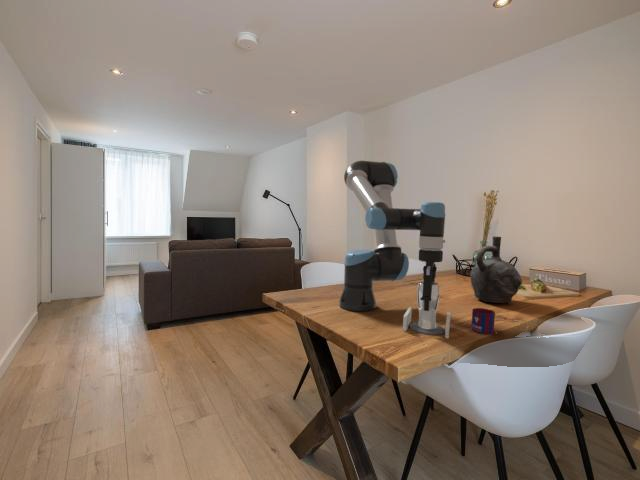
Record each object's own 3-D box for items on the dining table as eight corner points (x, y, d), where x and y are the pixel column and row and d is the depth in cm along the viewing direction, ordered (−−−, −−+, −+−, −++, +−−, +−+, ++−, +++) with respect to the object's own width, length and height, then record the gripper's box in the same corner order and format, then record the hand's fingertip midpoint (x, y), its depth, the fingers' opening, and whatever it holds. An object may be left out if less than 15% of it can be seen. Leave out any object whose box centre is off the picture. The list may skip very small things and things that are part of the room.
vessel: (512, 312, 130) (518, 239, 128) (458, 301, 145) (461, 235, 143) (526, 301, 148) (530, 237, 146) (475, 293, 163) (479, 234, 161)
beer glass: (435, 332, 103) (436, 285, 102) (413, 328, 106) (415, 283, 106) (439, 326, 109) (441, 282, 108) (419, 322, 112) (420, 280, 112)
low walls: (402, 331, 105) (403, 316, 105) (408, 320, 116) (408, 307, 116) (448, 338, 99) (449, 322, 99) (449, 326, 110) (450, 312, 110)
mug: (466, 328, 109) (468, 309, 108) (485, 325, 113) (487, 306, 113) (484, 335, 103) (486, 314, 102) (504, 331, 108) (505, 311, 107)
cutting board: (529, 300, 154) (530, 284, 154) (490, 289, 177) (491, 275, 176) (581, 296, 164) (583, 282, 164) (539, 287, 187) (540, 274, 186)
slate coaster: (407, 331, 105) (407, 329, 105) (412, 321, 115) (412, 320, 115) (443, 337, 100) (443, 335, 100) (445, 326, 110) (445, 325, 110)
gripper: (441, 253, 94) (437, 327, 96) (444, 247, 114) (441, 309, 116) (414, 251, 97) (411, 323, 99) (422, 246, 117) (419, 306, 119)
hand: (427, 316), depth 107 cm, fingers open, 9 cm apart
